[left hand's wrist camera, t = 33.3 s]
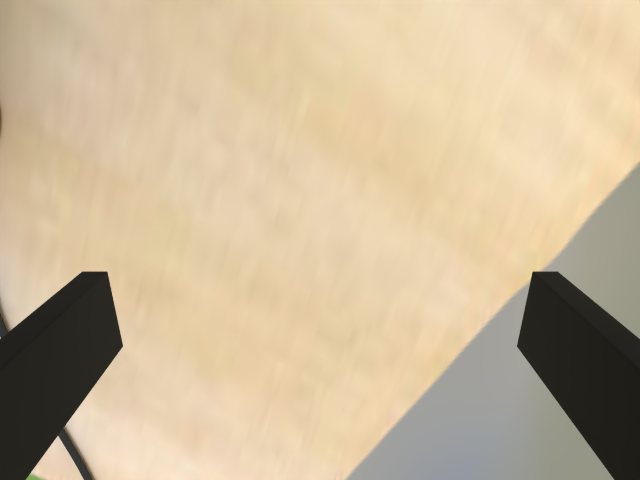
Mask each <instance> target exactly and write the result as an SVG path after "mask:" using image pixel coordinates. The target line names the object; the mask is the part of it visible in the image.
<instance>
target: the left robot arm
mask: <svg viewBox="0 0 640 480" xmlns="http://www.w3.org/2000/svg"><path fill="white" fill-rule="evenodd" d="M0 337H1V339H0V480H26V478H27V477H28V476H29V474H30V473H31V472H32V470H33V469H34V467H35V466H36V465H37V463H38V462H39V461H40V459H41V458H42V456H43V455H44V454H45V452H46V451H47V450H48V448H49V447H50V445H51V444H52V443H53V441H54V440H55V439H56V437H57V436H59V438H60V439H61V441H62V442H63V444H64V446H65V447H66V449H67V451H68V452H69V454H70V456H71V457H72V459H73V461H74V462H75V464H76V466H77V468H78V469H79V471H80V473H81V475H82V477H83V479H84V480H92V478H91V476H90V474H89V472H88V470H87V468H86V466H85V464H84V463H83V461H82V459H81V457H80V455H79V454H78V452H77V450H76V449H75V447H74V445H73V444H72V442H71V440H70V439H69V437H68V435H67V434H66V432H65V430H64V429H63V428H64V426H65V425H66V424H67V422H68V421H69V419H70V418H71V417H72V415H73V414H74V413H75V411H76V410H77V409H78V407H79V406H80V404H81V403H82V402H83V400H84V399H85V398H86V396H87V395H88V393H89V392H90V391H91V389H92V388H93V387H94V385H95V384H96V383H97V381H98V380H99V378H100V377H101V376H102V374H103V373H104V372H105V370H106V369H107V367H108V366H109V365H110V363H111V362H112V361H113V359H114V358H115V357H116V355H117V354H118V352H119V351H120V350H121V348H122V347H123V344H122V339H121V335H120V330H119V325H118V320H117V316H116V311H115V306H114V301H113V297H112V292H111V287H110V282H109V278H108V273H107V272H81V273H80V274H79V275H78V276H77V277H75V278H74V279H73V280H72V281H70V282H69V283H68V284H67V285H66V286H64V287H63V288H62V289H61V290H59V291H58V292H57V293H56V294H55V295H53V296H52V297H51V298H50V299H49V300H47V301H46V302H45V303H44V304H42V305H41V306H40V307H39V308H38V309H36V310H35V311H34V312H33V313H31V314H30V315H29V316H28V317H27V318H25V319H24V320H23V321H22V322H21V323H19V324H18V325H17V326H16V327H14V328H13V329H12V330H11V331H10V332H8V331H7V329H6V326H5V324H4V321H3V319H2V316H1V313H0ZM517 347H518V348H519V350H520V351H521V352H522V354H523V355H524V357H525V358H526V359H527V361H528V362H529V363H530V365H531V366H532V367H533V369H534V370H535V371H536V373H537V374H538V376H539V377H540V378H541V380H542V381H543V383H544V384H545V385H546V387H547V388H548V389H549V391H550V392H551V393H552V395H553V396H554V398H555V399H556V400H557V402H558V403H559V404H560V406H561V407H562V409H563V410H564V411H565V413H566V414H567V415H568V417H569V418H570V419H571V421H572V422H573V423H574V425H575V426H576V428H577V429H578V430H579V432H580V433H581V434H582V436H583V437H584V439H585V440H586V441H587V443H588V444H589V445H590V447H591V448H592V450H593V451H594V452H595V454H596V455H597V456H598V458H599V459H600V461H601V462H602V463H603V465H604V466H605V467H606V469H607V470H608V471H609V473H610V474H611V476H612V477H613V478H614V480H640V339H639V338H638V337H637V336H635V335H634V334H633V333H632V332H630V331H629V330H628V329H627V328H626V327H624V326H623V325H622V324H621V323H619V322H618V321H617V320H616V319H615V318H613V317H612V316H611V315H610V314H609V313H607V312H606V311H605V310H604V309H602V308H601V307H600V306H599V305H598V304H596V303H595V302H594V301H593V300H591V299H590V298H589V297H588V296H587V295H585V294H584V293H583V292H582V291H581V290H579V289H578V288H577V287H576V286H574V285H573V284H572V283H571V282H570V281H568V280H567V279H566V278H565V277H563V276H562V275H561V274H560V273H559V272H533V273H532V278H531V282H530V287H529V292H528V297H527V301H526V306H525V311H524V316H523V320H522V325H521V330H520V335H519V339H518V344H517Z"/></svg>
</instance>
